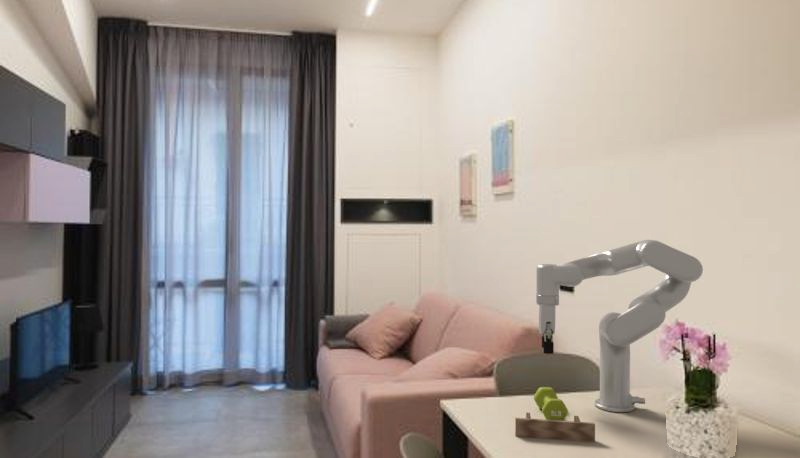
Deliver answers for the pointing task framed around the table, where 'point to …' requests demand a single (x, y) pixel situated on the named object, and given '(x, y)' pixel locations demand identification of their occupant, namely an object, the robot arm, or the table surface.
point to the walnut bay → (555, 429)
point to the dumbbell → (550, 404)
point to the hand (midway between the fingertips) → (547, 350)
